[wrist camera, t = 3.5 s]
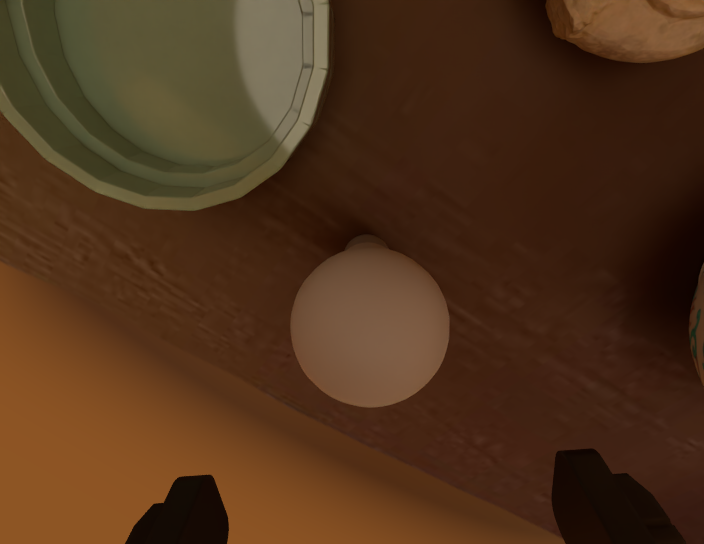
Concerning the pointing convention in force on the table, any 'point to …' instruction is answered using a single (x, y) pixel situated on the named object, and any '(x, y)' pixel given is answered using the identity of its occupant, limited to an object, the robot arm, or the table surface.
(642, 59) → the oil lamp
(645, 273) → the table surface
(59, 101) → the pan
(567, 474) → the robot arm
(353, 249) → the lightbulb
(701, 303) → the chinaware
